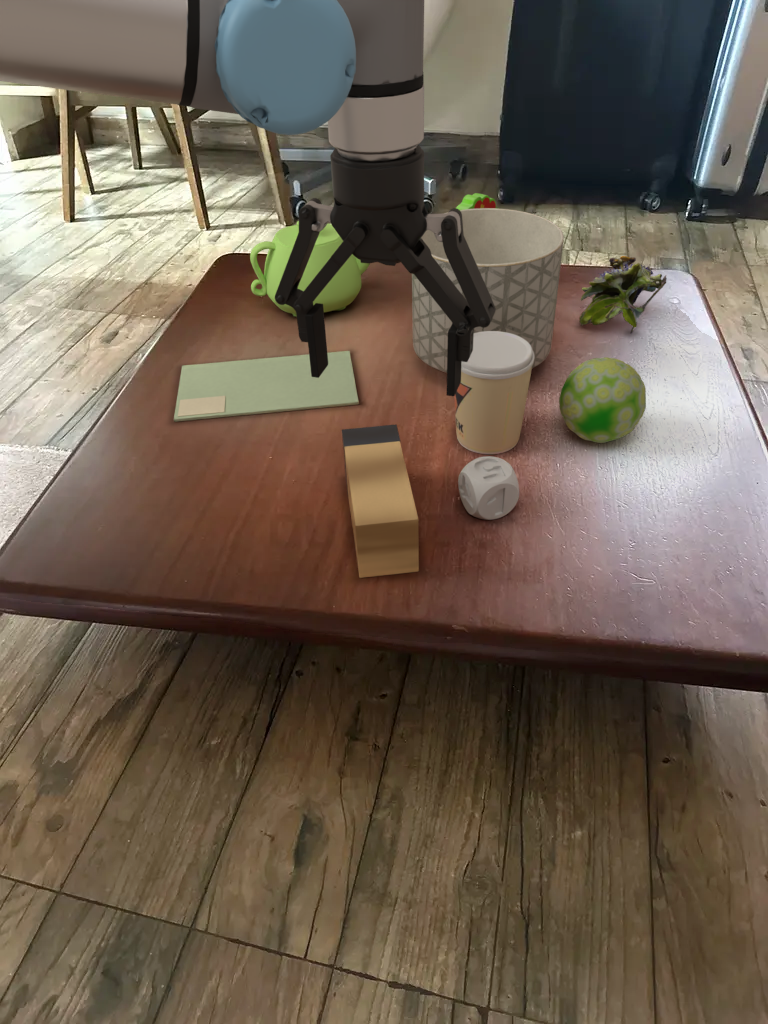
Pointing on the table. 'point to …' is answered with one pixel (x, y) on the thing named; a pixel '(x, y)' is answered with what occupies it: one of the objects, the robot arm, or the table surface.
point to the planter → (497, 281)
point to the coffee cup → (493, 392)
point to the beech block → (380, 501)
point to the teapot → (308, 269)
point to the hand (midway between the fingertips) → (385, 379)
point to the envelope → (263, 387)
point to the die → (488, 487)
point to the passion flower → (620, 292)
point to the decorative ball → (602, 399)
